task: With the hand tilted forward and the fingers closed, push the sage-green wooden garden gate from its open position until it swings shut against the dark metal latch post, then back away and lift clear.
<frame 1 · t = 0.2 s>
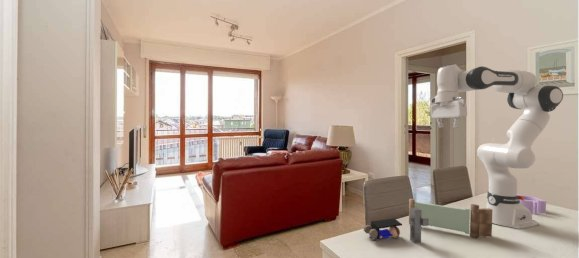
hand: (447, 127, 125), 48 cm above the table, tool pointing down, fingers open, 8 cm apart
figurine character: (382, 238, 114), on the table
wooden hinge block: (474, 236, 115), on the table
clip: (520, 208, 151), on the table
latch post: (415, 241, 111), on the table
gate: (437, 216, 122), point 6 cm above the table, hinge at -40.0°
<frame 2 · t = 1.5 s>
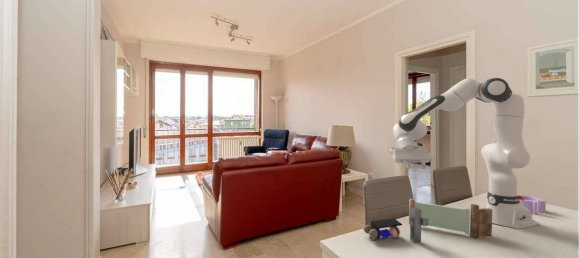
hand: (416, 168, 138), 26 cm above the table, tool tilted 45°, fingers open, 7 cm apart
nothing on the table moved.
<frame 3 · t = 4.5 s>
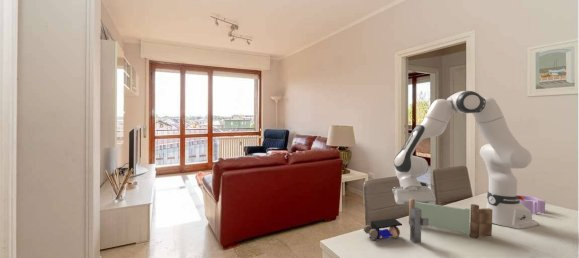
hand: (419, 211, 131), 5 cm above the table, tool tilted 45°, fingers closed
nothing on the table moved.
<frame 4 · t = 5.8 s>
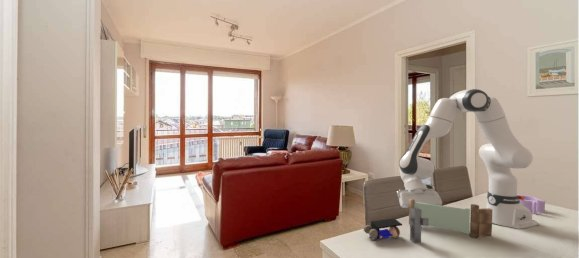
hand: (425, 215, 126), 5 cm above the table, tool tilted 45°, fingers closed
gate: (437, 216, 122), point 6 cm above the table, hinge at -39.3°, touching gripper
everything else where it was.
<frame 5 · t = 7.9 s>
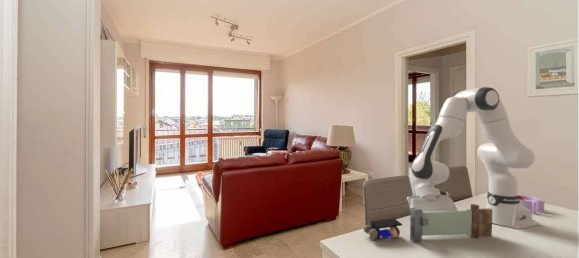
hand: (439, 224, 115), 5 cm above the table, tool tilted 45°, fingers closed, pressing on gate
gate: (443, 223, 114), point 6 cm above the table, hinge at -5.4°, touching gripper
everything else where it was.
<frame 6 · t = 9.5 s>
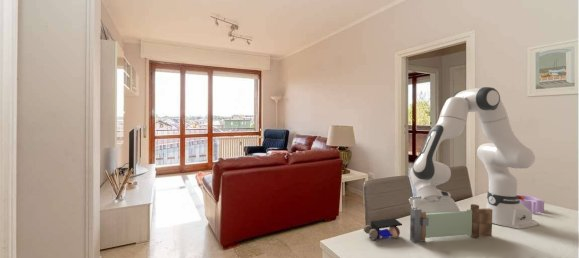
hand: (442, 225, 114), 5 cm above the table, tool tilted 45°, fingers closed
gate: (445, 224, 113), point 6 cm above the table, hinge at 0.1°
everything else where it was.
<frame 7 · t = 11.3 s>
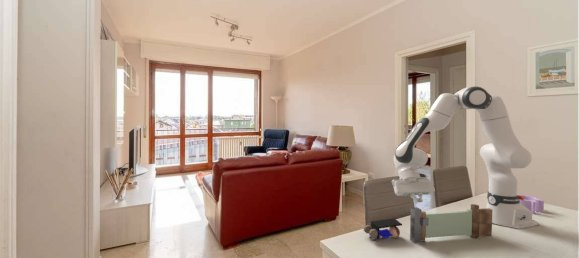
hand: (419, 202, 132), 10 cm above the table, tool tilted 45°, fingers closed
nothing on the table moved.
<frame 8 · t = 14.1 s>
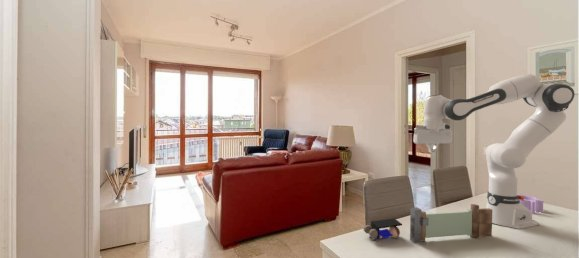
hand: (432, 152, 138), 34 cm above the table, tool pointing down, fingers closed
at the end: gate at +0° (first picture: -40°) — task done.
